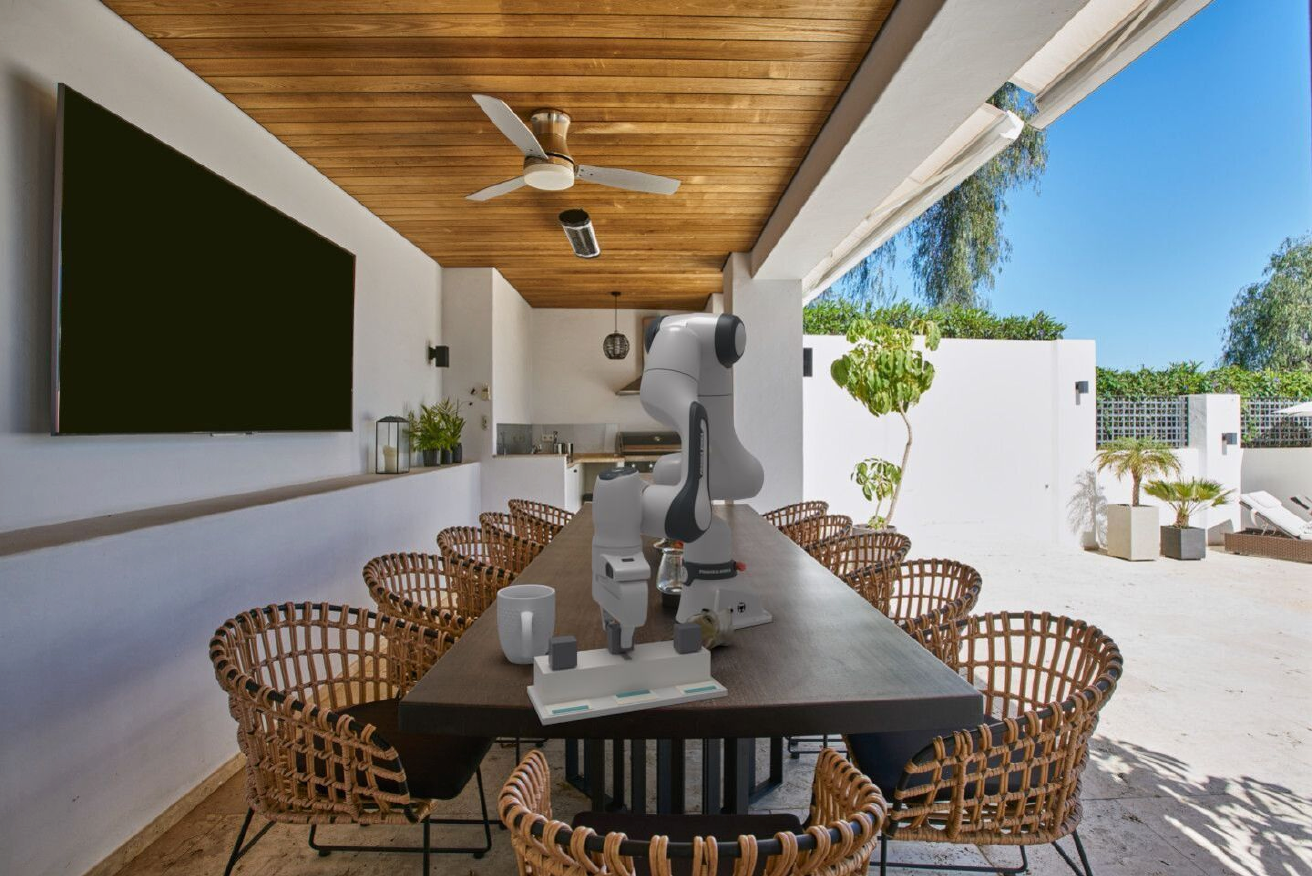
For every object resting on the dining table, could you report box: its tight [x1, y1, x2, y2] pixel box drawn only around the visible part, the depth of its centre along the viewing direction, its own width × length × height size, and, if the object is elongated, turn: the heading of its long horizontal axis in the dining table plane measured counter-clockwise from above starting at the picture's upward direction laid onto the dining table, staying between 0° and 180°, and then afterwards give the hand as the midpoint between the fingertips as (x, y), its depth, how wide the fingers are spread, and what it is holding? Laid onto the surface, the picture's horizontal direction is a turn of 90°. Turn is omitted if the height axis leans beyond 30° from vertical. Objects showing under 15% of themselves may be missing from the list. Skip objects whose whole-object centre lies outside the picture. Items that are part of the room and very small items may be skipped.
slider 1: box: [547, 634, 578, 669], centre depth 105 cm, size 4×3×4 cm
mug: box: [496, 584, 556, 665], centre depth 123 cm, size 15×11×13 cm
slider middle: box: [606, 622, 635, 653], centre depth 112 cm, size 4×3×4 cm
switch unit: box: [526, 640, 729, 726], centre depth 109 cm, size 31×13×6 cm, turn 111°
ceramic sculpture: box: [660, 608, 735, 652], centre depth 131 cm, size 11×9×15 cm
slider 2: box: [673, 622, 702, 653], centre depth 113 cm, size 4×3×4 cm
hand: (616, 638), depth 114 cm, fingers open, 8 cm apart
